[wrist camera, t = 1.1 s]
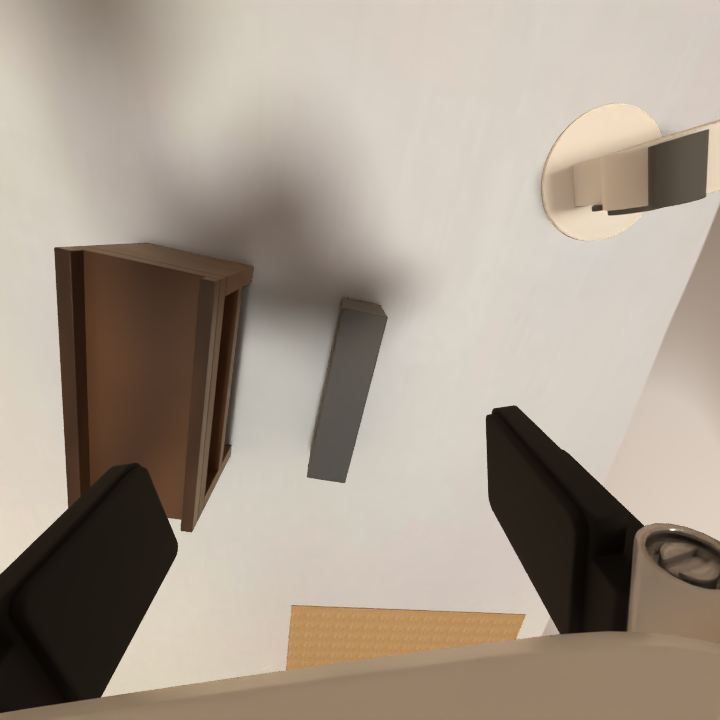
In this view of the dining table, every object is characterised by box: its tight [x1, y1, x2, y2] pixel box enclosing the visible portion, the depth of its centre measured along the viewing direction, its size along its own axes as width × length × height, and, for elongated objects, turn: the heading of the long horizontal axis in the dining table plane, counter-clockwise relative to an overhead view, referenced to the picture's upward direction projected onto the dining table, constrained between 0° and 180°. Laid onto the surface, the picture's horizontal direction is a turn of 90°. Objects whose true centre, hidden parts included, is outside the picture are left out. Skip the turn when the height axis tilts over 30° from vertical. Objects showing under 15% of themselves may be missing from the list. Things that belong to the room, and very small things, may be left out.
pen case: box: [307, 297, 388, 483], centre depth 36 cm, size 4×18×6 cm, turn 167°
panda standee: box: [541, 103, 720, 241], centre depth 26 cm, size 12×11×15 cm
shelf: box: [54, 243, 254, 532], centre depth 32 cm, size 10×22×11 cm, turn 167°
